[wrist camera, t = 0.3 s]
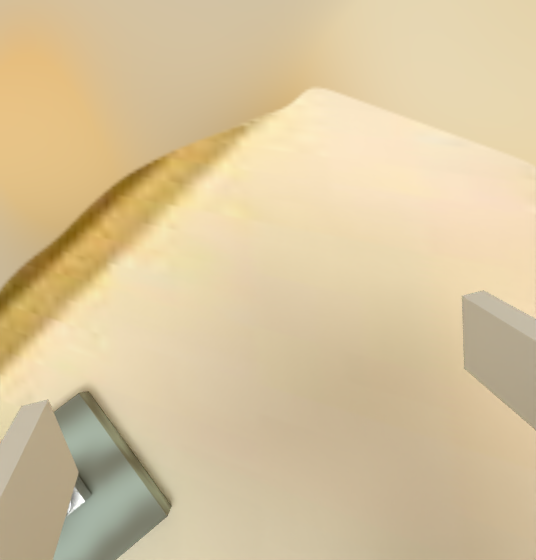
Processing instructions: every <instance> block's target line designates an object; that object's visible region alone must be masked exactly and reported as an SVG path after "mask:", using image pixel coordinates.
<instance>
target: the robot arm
mask: <svg viewBox="0 0 536 560" xmlns="http://www.w3.org/2000/svg"><path fill="white" fill-rule="evenodd" d="M462 313H463V346H464V369H465V370H467V371H468V372H469V373H470V374H471V375H472V376H473V377H475V378H476V379H477V380H478V381H479V382H480V383H482V384H483V385H484V386H485V387H486V388H487V389H489V390H490V391H491V392H492V393H493V394H494V395H496V396H497V397H498V398H499V399H500V400H501V401H502V402H504V403H505V404H506V405H507V406H508V407H509V408H511V409H512V410H513V411H514V412H515V413H516V414H518V415H519V416H520V417H521V418H522V419H523V420H525V421H526V422H527V423H528V424H529V425H530V426H532V427H533V428H534V429H535V430H536V319H535V318H533V317H531V316H529V315H528V314H526V313H524V312H522V311H520V310H518V309H517V308H515V307H513V306H511V305H509V304H507V303H506V302H504V301H502V300H500V299H498V298H497V297H495V296H493V295H491V294H489V293H487V292H486V291H480V292H476V293H472V294H468V295H464V296H462ZM78 473H79V472H78V469H77V467H76V464H75V462H74V460H73V457H72V455H71V453H70V450H69V448H68V445H67V443H66V441H65V438H64V436H63V433H62V431H61V429H60V426H59V424H58V422H57V419H56V417H55V414H54V412H53V410H52V407H51V405H50V402H49V400H45V401H41V402H37V403H33V404H29V405H25V406H21V408H20V410H19V411H18V413H17V415H16V417H15V418H14V420H13V422H12V424H11V425H10V427H9V429H8V431H7V432H6V434H5V436H4V438H3V439H2V441H1V443H0V560H53V557H54V554H55V551H56V547H57V544H58V540H59V537H60V534H61V530H62V527H63V524H64V520H65V517H66V514H67V510H68V507H69V504H70V500H71V497H72V493H73V490H74V487H75V483H76V480H77V477H78Z"/></svg>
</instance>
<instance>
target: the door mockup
mask: <svg viewBox="0 0 536 560" xmlns="http://www.w3.org/2000/svg"><path fill="white" fill-rule="evenodd" d="M54 414H55V417H56V419H57V422H58V424H59V426H60V429H61V431H62V433H63V436H64V438H65V441H66V443H67V445H68V448H69V450H70V453H71V455H72V457H73V460H74V462H75V464H76V467H77V469H78V472H79V473H78V476H79V477H80V479H81V480H82V482H83V483H84V485H85V486H86V487H87V489H88V490H89V492H90V493H91V494H92V496H90V497H89V498H88V499H87V500H86V501H85V502H84V503H82V504H81V505H80V506H79V507H78V508H76V509H75V510H74V511H73V512H71V513H70V514H69V515H68V516H66V517H65V520H64V524H63V527H62V530H61V534H60V537H59V540H58V544H57V547H56V551H55V554H54V557H53V560H116V559H117V558H119V557H120V556H121V555H122V554H123V553H124V552H126V551H127V550H128V549H129V548H130V547H132V546H133V545H134V544H135V543H136V542H137V541H139V540H140V539H141V538H142V537H143V536H145V535H146V534H147V533H148V532H149V531H150V530H152V529H153V528H154V527H155V526H156V525H158V524H159V523H160V522H161V521H162V520H163V519H165V518H166V517H167V516H168V513H169V511H170V509H171V505H170V504H169V502H168V501H167V500H166V498H165V497H164V495H163V494H162V493H161V491H160V490H159V489H158V487H157V486H156V484H155V483H154V482H153V480H152V479H151V478H150V476H149V475H148V473H147V472H146V471H145V469H144V468H143V466H142V465H141V464H140V462H139V461H138V460H137V458H136V457H135V455H134V454H133V453H132V451H131V450H130V448H129V447H128V446H127V444H126V443H125V442H124V440H123V439H122V437H121V436H120V435H119V433H118V432H117V430H116V429H115V428H114V426H113V425H112V424H111V422H110V421H109V419H108V418H107V417H106V415H105V414H104V413H103V411H102V410H101V408H100V407H99V406H98V404H97V403H96V401H95V400H94V399H93V397H92V396H91V395H90V393H89V392H84V393H79V394H77V395H76V396H75V397H73V398H72V399H71V400H69V401H68V402H67V403H65V404H64V405H63V406H61V407H60V408H59V409H57V410H56V411H55V412H54Z"/></svg>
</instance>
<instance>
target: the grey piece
mask: <svg viewBox="0 0 536 560" xmlns="http://www.w3.org/2000/svg"><path fill="white" fill-rule="evenodd" d="M90 496H92V494H91V493H90V492H89V490H88V489H87V487H86V486H85V485H84V483H83V482H82V480H81V479H80V477H79V476H78V477H77V480H76V483H75V487H74V490H73V493H72V497H71V500H70V504H69V507H68V510H67V514H66V516H68V515H69V514H70V513H71V512H73V511H74V510H75V509H76V508H78V507H79V506H80V505H81V504H82V503H84V502H85V501H86V500H87V499H88V498H89V497H90Z"/></svg>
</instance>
